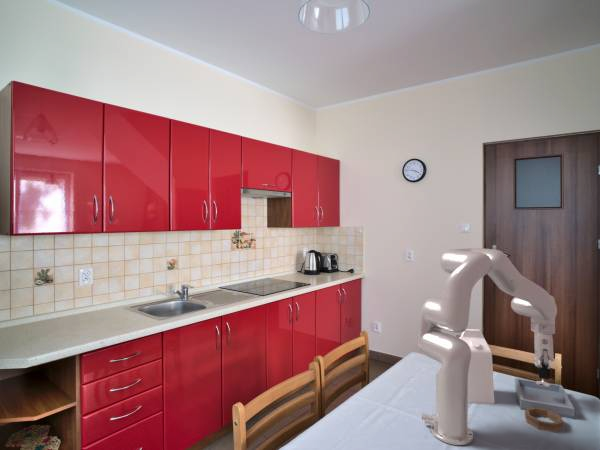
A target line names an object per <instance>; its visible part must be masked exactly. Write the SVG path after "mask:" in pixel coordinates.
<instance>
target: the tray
mask: <svg viewBox="0 0 600 450" xmlns="http://www.w3.org/2000/svg"><path fill="white" fill-rule="evenodd" d="M549 384H550V386H547V387H546V386H540V385H538V384H536V381H535V380H530V379H526V378H525V379H524V378H517V377H515V378H514V388H515V391H516V396H517V400H518V404H519V407H520V410H523V411H525V409H527V408H532V407H537V408H543V409H548V410H550V411H552V412H554V413H556V414H558V415H560V416H561V417H562V418H566V419H571V420H575V407H574V406H573V404H572V402H571V399H570V398H569V396H568V394H567V392H566V391H565V389H564V387H563V385H562V384H556V383H551V382H550V383H549Z"/></svg>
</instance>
